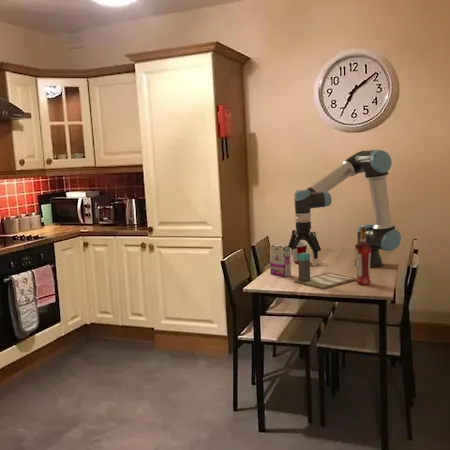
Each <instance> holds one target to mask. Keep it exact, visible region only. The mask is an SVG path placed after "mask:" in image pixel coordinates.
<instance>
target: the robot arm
mask: <svg viewBox="0 0 450 450" xmlns="http://www.w3.org/2000/svg"><path fill="white" fill-rule="evenodd" d="M392 162H393V161H392V158H391V156H390V154H389V153H388V152H387V151H386V150H383V149H382V150H381V149H371V150H361V151H358V152H356V153H354V154H352V155H351V156H349V157H348V158H346V159H345V160H343V161H342V163H341V165H339V166H338V167H337V168H335V169H334V170H332V171H331V172H330V173H328V174H326V175H324V177H322V178H320V179H319V180H318V181H317V182H315V183H313V184H312V185H311V186H309V187H308V188H306V189H299V190H295V191H294V212H295V213H294V215H295V217H294V219H295V221H296V222H295V229H292V230H291V231H292V232H291V236H290V240H289V243H288V247H290V250H291V255H292V263H294V262H296V261H298V258H297V249H295V248H296V247H297V245H298V244H299V242H301V241H305V242H306V243H308V245H309V247H310V249H311V250H312V252H311V263H312V264H311V265H312V266H317V265H318V259H319V255H318V254H319V252H320V251H322V248H321V246H320V244H319V241H318V239H317V235H316V231H311V230H312V229H311V228H312V221H311V219H312V217H311V209H318V208H319V209H320V208H327V207H329V206H331V204H332V195H331V193H330V192H329V191H331V190H333V188H335V187H338V185H340V184H341V183H343V182H344V181H345V180H346V179H348V178H349V177H351V178H352V177H354V176H355V175H357V174H361V173H364V177H365V179H367V180H368V183H369V191H370V198H371V206H372V213H373V221H374V223H371V224H362V225H359V226H357V229H356V234H357V244H358V243H360V227H366V231H365V236H366V243H368V244H369V245H371V258H370V268H379V267H382V266H383V259H382V256H381V253H380V250H382V251H385V252H386V251H388V252H392V251H395V250H396V249H398V247H399V245H400V243H401V241H402V236H401V233H400V232H399V231H398V229H396V224H395V223H394V222H393V221H392V217H391V208H390V200H389V193H388V185H387V177H388V176H389V171H390V169H391V167H392ZM354 266H356V258H355V260H354Z"/></svg>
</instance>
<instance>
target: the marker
mask: <svg viewBox="0 0 450 450" xmlns="http://www.w3.org/2000/svg"><path fill="white" fill-rule="evenodd" d="M297 265H298V280H299V281H301V282H308V281H310V277H311V253H309V252H306V253H299V254H298V264H297Z"/></svg>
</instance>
